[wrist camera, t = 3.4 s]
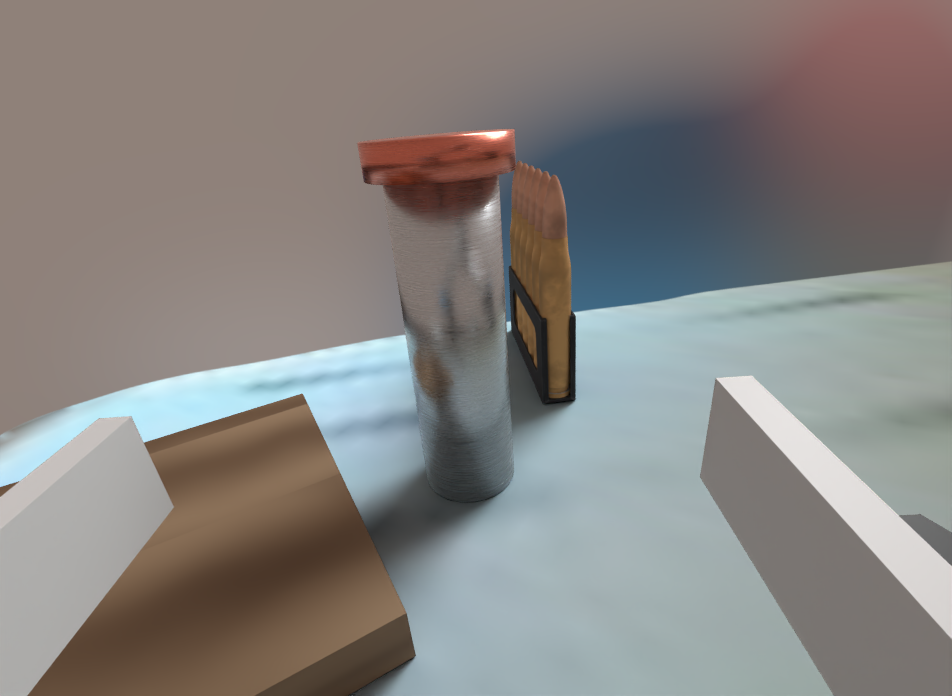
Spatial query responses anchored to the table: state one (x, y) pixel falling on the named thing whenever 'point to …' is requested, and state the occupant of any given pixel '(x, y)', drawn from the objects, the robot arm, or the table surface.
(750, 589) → the table surface
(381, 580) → the walnut plate
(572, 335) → the ammunition clip
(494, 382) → the steel pin
